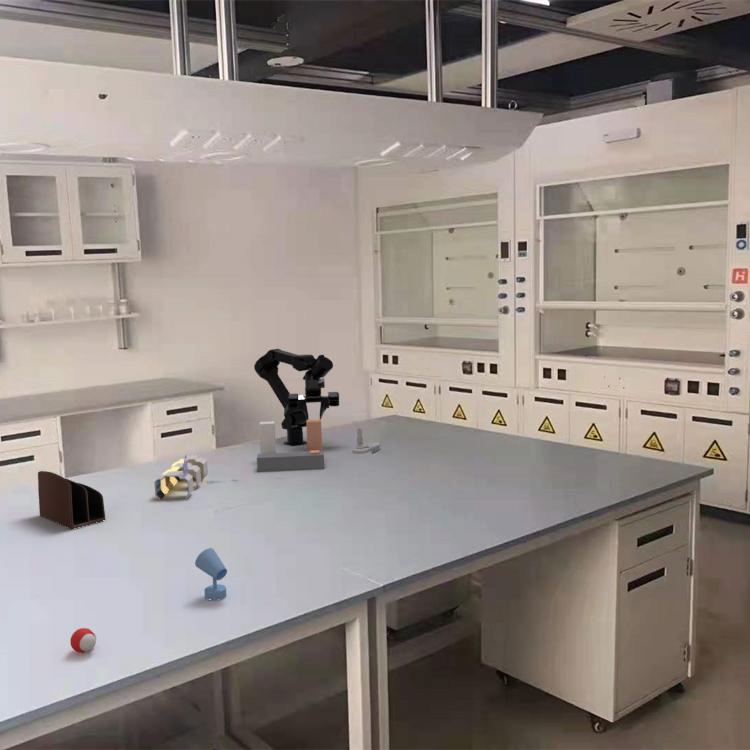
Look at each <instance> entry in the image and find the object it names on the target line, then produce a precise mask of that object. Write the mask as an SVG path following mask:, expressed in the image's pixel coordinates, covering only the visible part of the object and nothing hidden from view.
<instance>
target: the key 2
mask: <svg viewBox="0 0 750 750" xmlns="http://www.w3.org/2000/svg"><path fill="white" fill-rule="evenodd" d="M322 434H323V433H322V418H321V419H320V418H319V419H309V420H306V444H307V445H306V446H307V448H306V449H307V451H313V450H319V451H323V438H322V437H323V436H322Z"/></svg>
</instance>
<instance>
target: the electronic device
mask: <svg viewBox="0 0 750 750" xmlns="http://www.w3.org/2000/svg"><path fill="white" fill-rule="evenodd" d="M356 430H357V431H356V436H357V438H356V444H357V445H356V446H355V447H354V448H353V449H352V453H353V454H355V455H361V454H362V455H363V454H368V453H369V452H370V451H371V454H373V453H375V452H378V451H380V449H381V448H380V447H381V446H380V445H381V444H380V443H379V442H367V443H365V444H364V443H363V442H364V438H363V429H362V428H357V429H356Z"/></svg>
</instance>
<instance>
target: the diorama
mask: <svg viewBox="0 0 750 750" xmlns="http://www.w3.org/2000/svg"><path fill="white" fill-rule="evenodd" d="M208 466H209V465H208V460H207V459H206V458H205V457H200V456H199V455H197V454H195V455H192V454H191V455H187V454H184V456H183V457H182V458H177V460H176V461H175V462H174V463H173V464H172V465H171V466H170V467H168V469H166V470H165V471H164V472H163V473H162V474H161V475H160V476H159V477H157V479H156V480H155V481H154V483H153V484H154V494H155V496H156V498H157V499H158V500H159V501H161V500H162V499H163V498H164V497H165V496H166V495H167V494H168V493H169V492H170V491H171V490H172V489H173V487H175V485H176V484H177V483H178V482H179V481H180V480H185V482H187V494H186V496H185V497H184V500H187V499H189V497H190V496H191V494H192V493H193V491H195V490H196V489H197V488H198V486H199V484H200V483H201V482H203V480H204V479H205V477H206V476H207V474H208V473H209V469H208V468H209V467H208ZM194 479H195V485H194ZM169 490H170V491H169ZM168 491H169V492H168ZM165 494H166V495H165Z"/></svg>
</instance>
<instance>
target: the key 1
mask: <svg viewBox="0 0 750 750" xmlns="http://www.w3.org/2000/svg"><path fill="white" fill-rule="evenodd" d="M275 423H276V422H275V421H273V420H272V421H260V422H259V423H258V428H259V441H260V442H259V446H260V448H259V449H260V450H259V451H260V454H265V453H277V442H276V424H275Z"/></svg>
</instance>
